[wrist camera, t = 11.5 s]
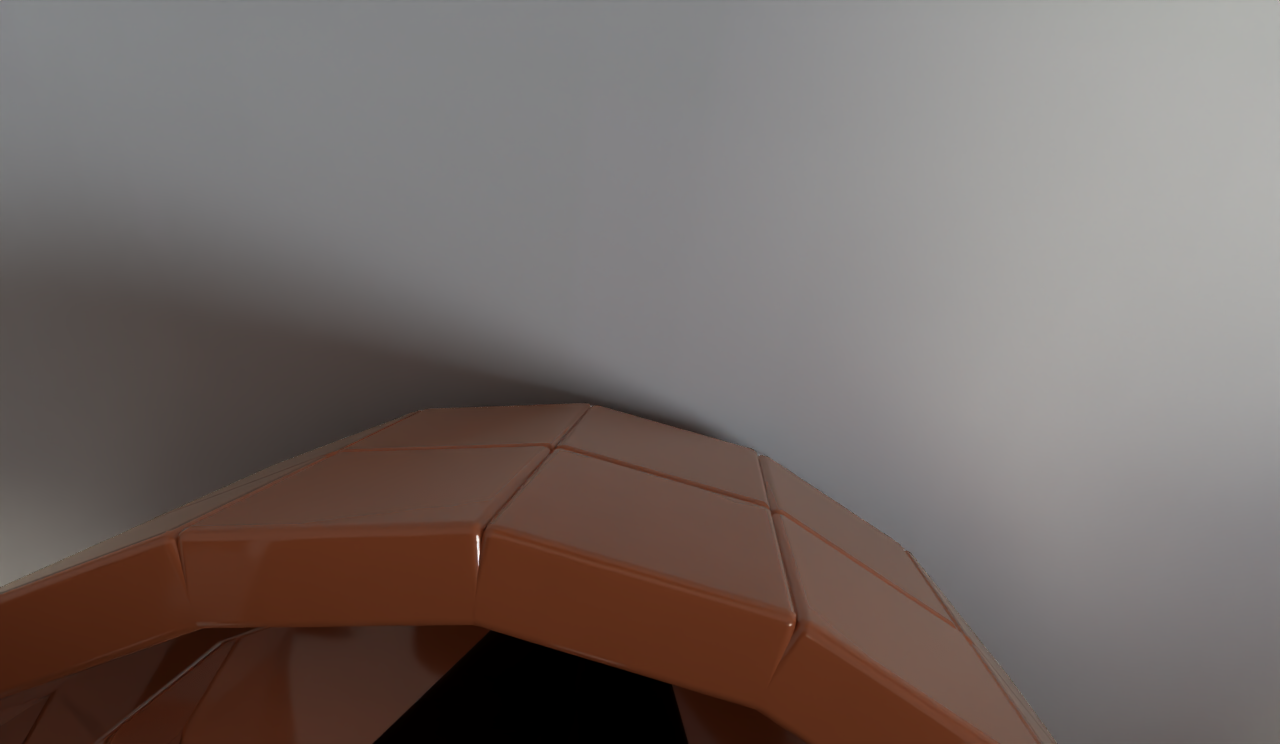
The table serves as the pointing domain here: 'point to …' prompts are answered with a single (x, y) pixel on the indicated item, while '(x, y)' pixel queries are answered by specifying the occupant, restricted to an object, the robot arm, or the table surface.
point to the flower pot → (498, 595)
